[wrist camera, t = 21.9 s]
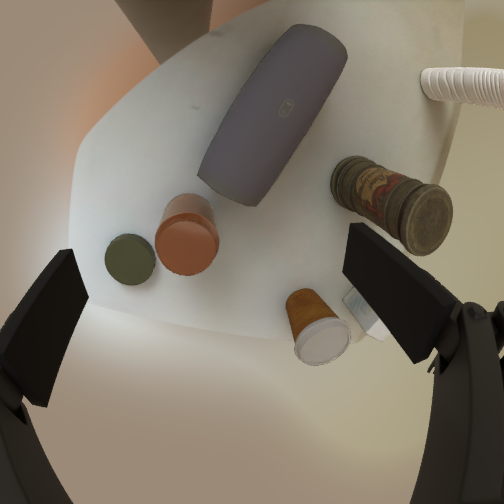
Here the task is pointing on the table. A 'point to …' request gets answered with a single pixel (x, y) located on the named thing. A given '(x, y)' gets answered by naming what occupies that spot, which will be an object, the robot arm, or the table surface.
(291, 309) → the disposable coffee cup
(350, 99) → the table surface
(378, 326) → the cosmetics box
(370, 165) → the container
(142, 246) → the lid
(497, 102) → the water bottle
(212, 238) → the jar
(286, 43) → the bluetooth speaker
